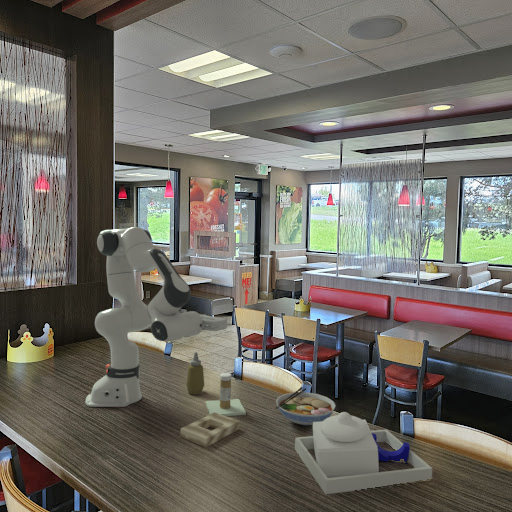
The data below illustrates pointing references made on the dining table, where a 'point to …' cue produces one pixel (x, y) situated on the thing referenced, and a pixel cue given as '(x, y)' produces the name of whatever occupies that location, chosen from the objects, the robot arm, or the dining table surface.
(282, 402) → the ramen bowl
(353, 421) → the white block with dome
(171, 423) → the dining table surface
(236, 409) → the pad
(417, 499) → the dining table surface
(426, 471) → the grey rectangular tray
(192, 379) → the squeeze bottle
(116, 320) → the robot arm
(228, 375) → the sprinkles bottle
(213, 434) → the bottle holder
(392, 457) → the cable clip
